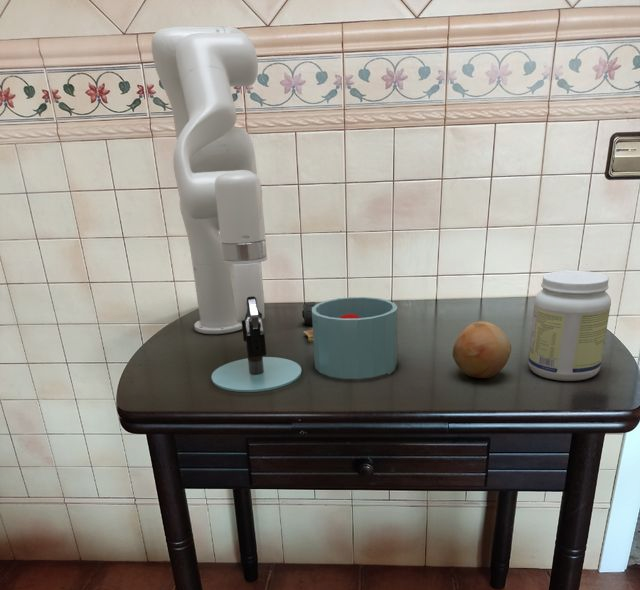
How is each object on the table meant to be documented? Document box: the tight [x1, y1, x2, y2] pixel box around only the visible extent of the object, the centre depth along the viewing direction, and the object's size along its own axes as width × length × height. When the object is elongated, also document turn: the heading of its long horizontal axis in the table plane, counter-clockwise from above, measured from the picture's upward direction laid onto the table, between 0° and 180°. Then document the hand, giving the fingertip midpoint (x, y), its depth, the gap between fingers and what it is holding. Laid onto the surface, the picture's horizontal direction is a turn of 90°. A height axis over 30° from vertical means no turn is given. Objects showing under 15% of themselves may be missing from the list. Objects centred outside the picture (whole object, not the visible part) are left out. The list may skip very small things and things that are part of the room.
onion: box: [452, 320, 512, 379], centre depth 105 cm, size 10×10×10 cm
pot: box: [312, 296, 398, 380], centre depth 112 cm, size 16×16×12 cm
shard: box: [303, 328, 314, 343], centre depth 128 cm, size 11×8×2 cm
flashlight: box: [301, 301, 319, 326], centre depth 140 cm, size 15×5×5 cm, turn 93°
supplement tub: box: [527, 270, 612, 382], centre depth 104 cm, size 12×12×17 cm
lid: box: [211, 343, 303, 393], centre depth 110 cm, size 17×17×7 cm
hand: (254, 348), depth 109 cm, fingers open, 9 cm apart
